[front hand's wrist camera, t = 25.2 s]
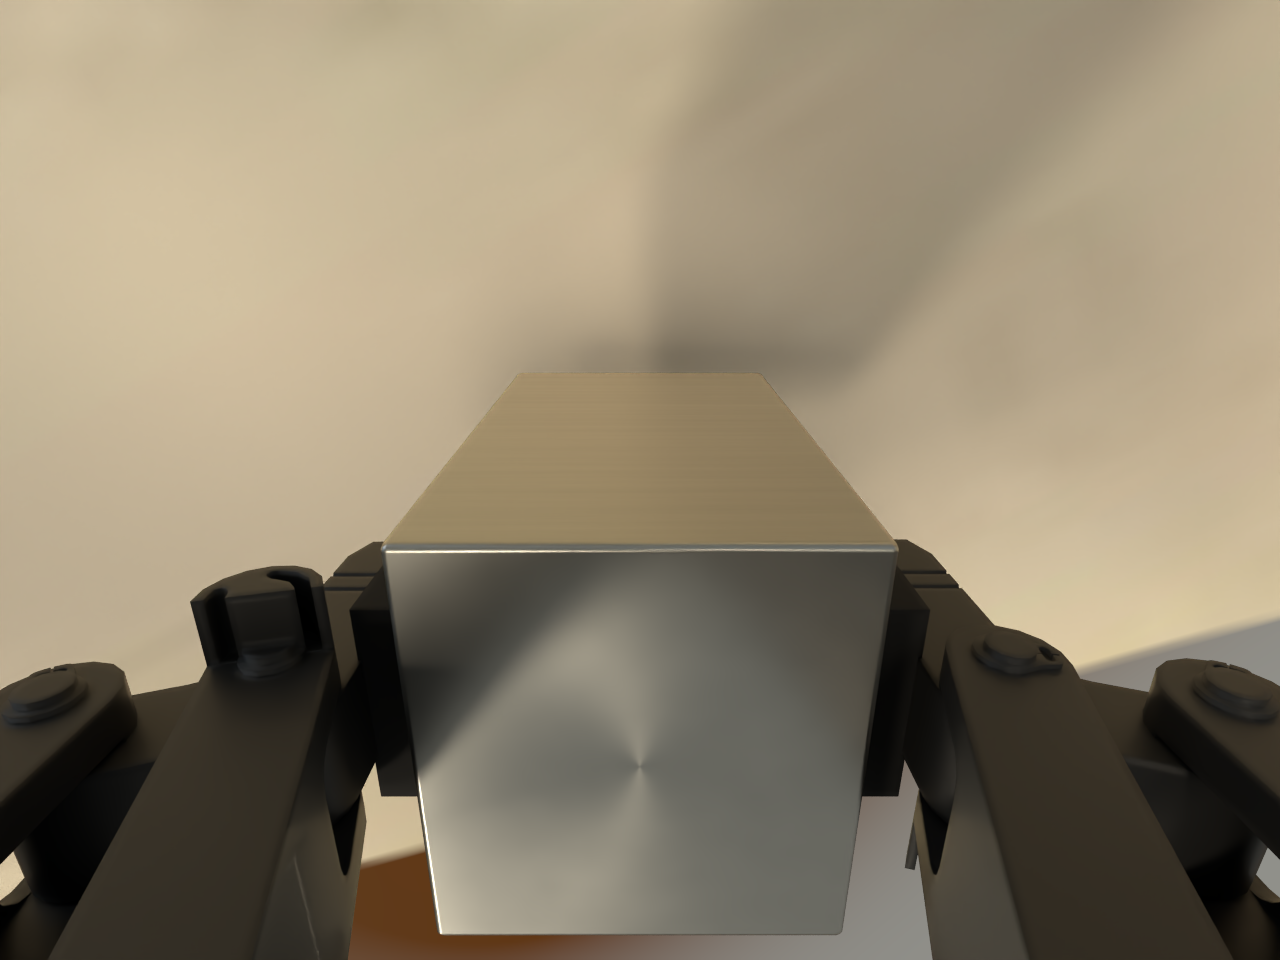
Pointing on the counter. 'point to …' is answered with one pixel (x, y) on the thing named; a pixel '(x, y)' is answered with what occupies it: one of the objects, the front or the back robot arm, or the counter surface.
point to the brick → (639, 662)
